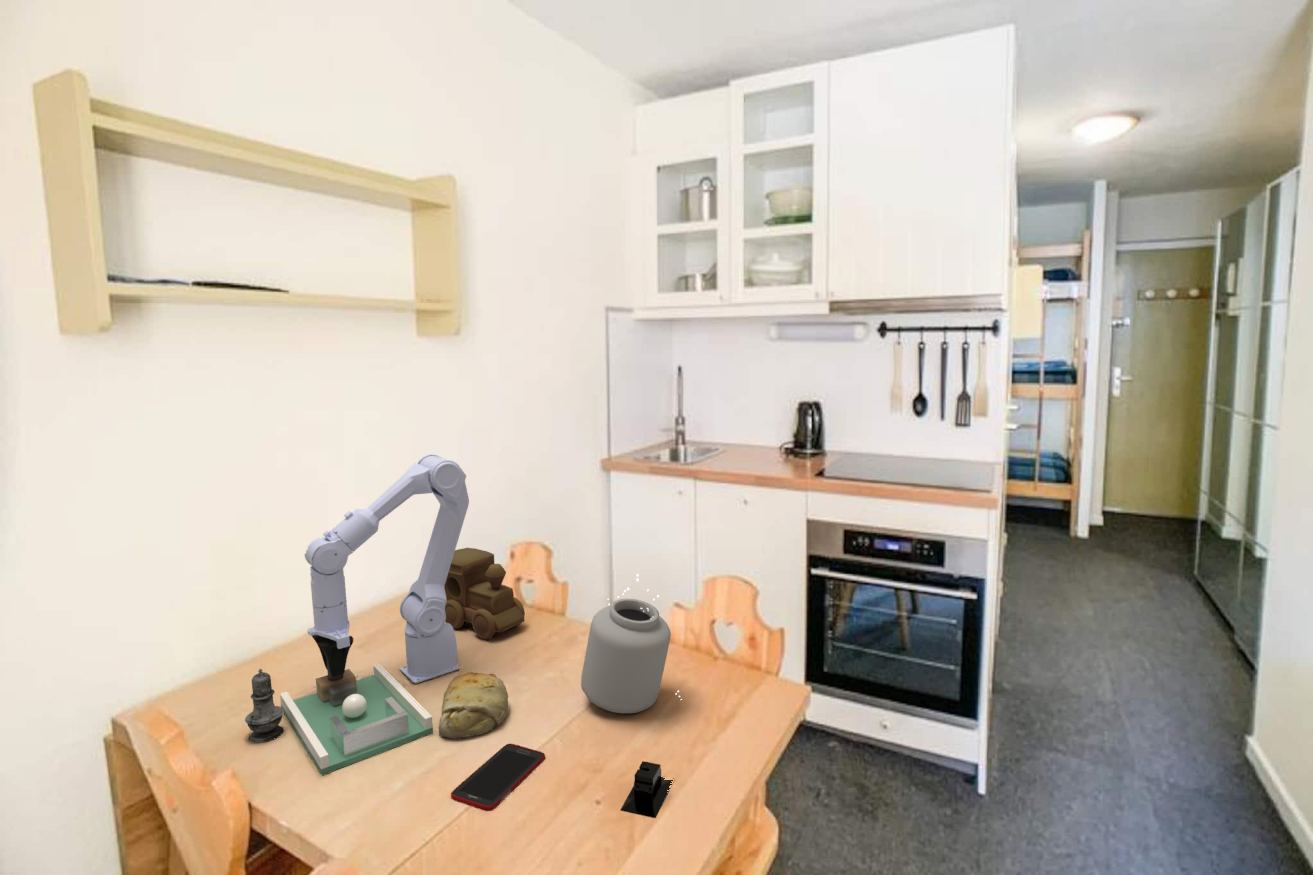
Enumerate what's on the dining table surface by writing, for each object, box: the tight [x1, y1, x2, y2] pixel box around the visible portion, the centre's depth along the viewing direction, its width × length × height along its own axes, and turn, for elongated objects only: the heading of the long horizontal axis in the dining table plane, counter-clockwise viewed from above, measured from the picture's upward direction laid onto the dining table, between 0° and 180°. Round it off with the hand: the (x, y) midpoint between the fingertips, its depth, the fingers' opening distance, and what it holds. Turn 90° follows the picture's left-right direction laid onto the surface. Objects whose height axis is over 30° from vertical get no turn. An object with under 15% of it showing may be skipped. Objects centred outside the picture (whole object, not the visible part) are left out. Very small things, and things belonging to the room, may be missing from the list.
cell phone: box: [450, 743, 546, 812], centre depth 109 cm, size 8×15×1 cm, turn 155°
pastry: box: [438, 671, 509, 739], centre depth 125 cm, size 14×12×8 cm
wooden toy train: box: [444, 547, 525, 641], centre depth 164 cm, size 20×11×17 cm, turn 55°
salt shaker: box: [244, 668, 285, 744], centre depth 120 cm, size 6×6×12 cm
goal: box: [329, 697, 409, 757], centre depth 119 cm, size 10×8×4 cm
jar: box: [580, 573, 683, 714], centre depth 129 cm, size 19×15×25 cm
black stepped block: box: [620, 760, 673, 819], centre depth 104 cm, size 12×7×5 cm, turn 162°
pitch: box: [279, 663, 434, 776], centre depth 125 cm, size 18×26×3 cm
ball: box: [342, 694, 367, 718], centre depth 125 cm, size 4×4×4 cm
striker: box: [315, 662, 357, 706], centre depth 131 cm, size 6×7×8 cm
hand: (335, 671), depth 132 cm, fingers closed on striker, 3 cm apart
